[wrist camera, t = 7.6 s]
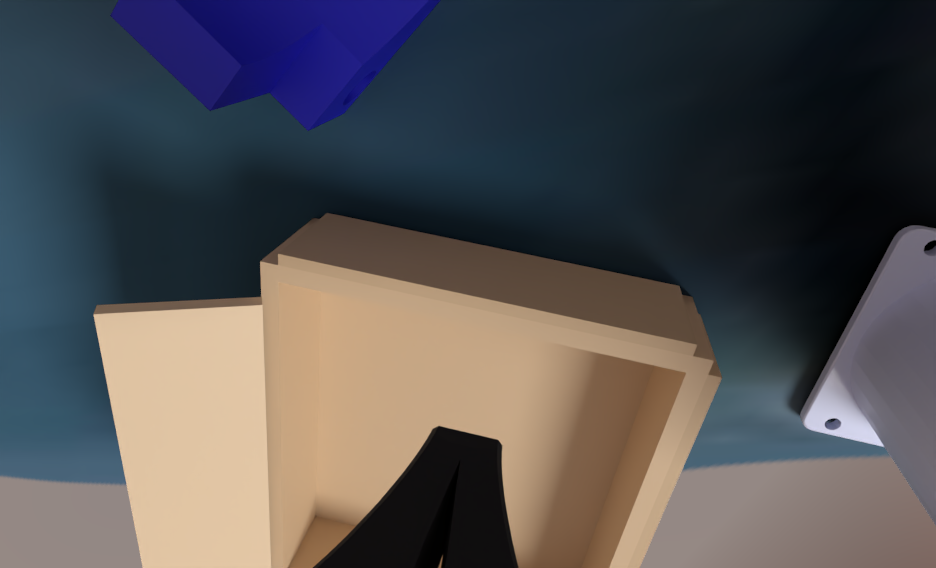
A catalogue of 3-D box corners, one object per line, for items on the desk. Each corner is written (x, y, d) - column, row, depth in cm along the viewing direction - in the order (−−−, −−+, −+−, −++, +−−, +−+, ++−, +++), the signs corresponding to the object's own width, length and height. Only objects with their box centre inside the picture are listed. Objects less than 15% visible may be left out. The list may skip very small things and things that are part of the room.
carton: (707, 289, 20) (733, 352, 16) (591, 591, 28) (591, 678, 24) (313, 207, 21) (259, 249, 18) (309, 517, 29) (271, 588, 26)
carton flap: (93, 314, 16) (96, 305, 17) (151, 610, 23) (152, 598, 23) (262, 304, 18) (261, 296, 18) (271, 584, 24) (270, 573, 25)
